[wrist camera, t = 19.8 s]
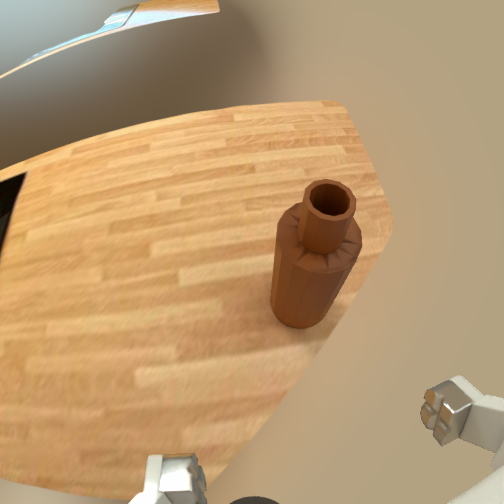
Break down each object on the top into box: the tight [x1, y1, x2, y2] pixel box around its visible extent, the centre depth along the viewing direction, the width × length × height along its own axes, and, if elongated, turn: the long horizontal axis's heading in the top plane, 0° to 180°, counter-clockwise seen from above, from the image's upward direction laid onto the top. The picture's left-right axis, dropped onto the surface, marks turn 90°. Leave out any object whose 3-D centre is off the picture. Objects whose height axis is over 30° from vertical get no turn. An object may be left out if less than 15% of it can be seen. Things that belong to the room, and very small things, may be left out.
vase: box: [270, 179, 362, 328], centre depth 27 cm, size 6×6×17 cm
